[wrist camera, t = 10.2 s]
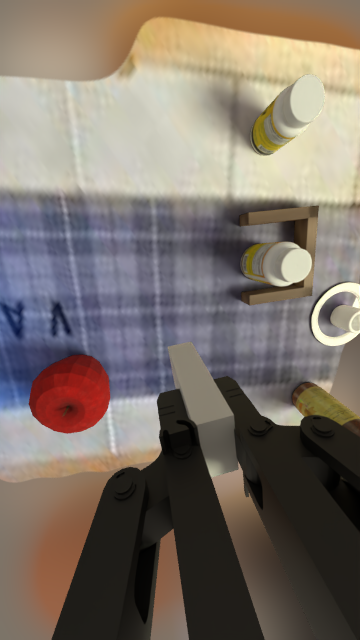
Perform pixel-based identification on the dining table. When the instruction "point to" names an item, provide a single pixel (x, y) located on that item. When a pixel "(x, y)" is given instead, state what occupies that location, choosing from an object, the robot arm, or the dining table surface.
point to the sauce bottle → (324, 406)
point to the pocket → (302, 237)
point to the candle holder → (339, 316)
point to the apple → (70, 394)
